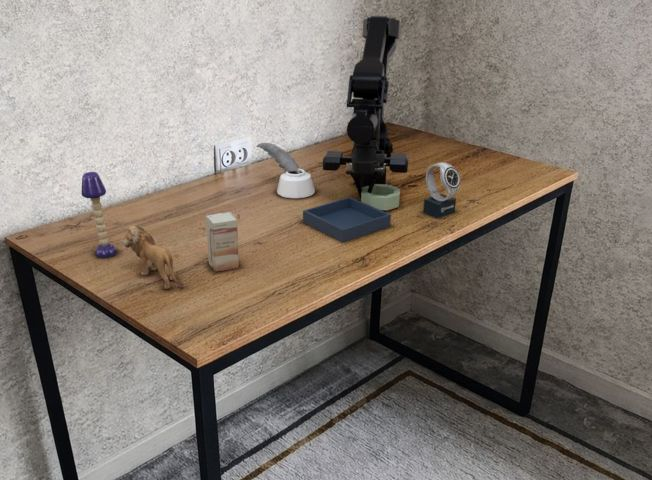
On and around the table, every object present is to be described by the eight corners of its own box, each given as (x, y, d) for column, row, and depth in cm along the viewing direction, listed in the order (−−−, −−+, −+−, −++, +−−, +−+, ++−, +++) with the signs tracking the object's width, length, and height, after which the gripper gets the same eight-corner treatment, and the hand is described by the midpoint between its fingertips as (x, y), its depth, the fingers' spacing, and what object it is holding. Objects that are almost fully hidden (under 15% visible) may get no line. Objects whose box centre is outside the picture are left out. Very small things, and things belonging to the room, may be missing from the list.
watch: (444, 220, 167) (448, 171, 161) (417, 210, 172) (420, 162, 166) (461, 214, 170) (466, 165, 164) (434, 204, 175) (438, 157, 169)
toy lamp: (104, 260, 152) (90, 179, 144) (87, 255, 155) (73, 175, 146) (121, 251, 156) (109, 171, 147) (104, 247, 158) (91, 168, 149)
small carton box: (215, 272, 147) (211, 223, 142) (208, 263, 150) (204, 215, 145) (240, 267, 149) (237, 218, 143) (233, 258, 152) (230, 210, 147)
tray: (302, 222, 167) (302, 210, 166) (349, 208, 174) (349, 196, 173) (342, 242, 158) (343, 230, 157) (390, 226, 165) (391, 214, 163)
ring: (354, 202, 176) (354, 189, 175) (381, 194, 180) (382, 181, 179) (378, 213, 170) (379, 200, 169) (406, 204, 175) (407, 191, 173)
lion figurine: (122, 271, 148) (115, 228, 143) (143, 262, 151) (138, 219, 147) (173, 293, 140) (168, 248, 135) (195, 283, 143) (190, 238, 139)
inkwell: (297, 202, 178) (296, 159, 172) (242, 185, 188) (240, 144, 183) (323, 191, 184) (323, 149, 178) (268, 175, 194) (267, 135, 189)
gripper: (319, 139, 162) (319, 210, 170) (408, 142, 159) (404, 213, 167) (325, 125, 171) (325, 192, 179) (410, 127, 168) (406, 195, 177)
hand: (364, 198), depth 175 cm, fingers closed on ring
